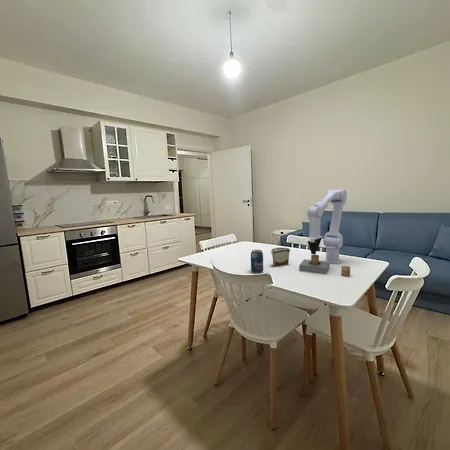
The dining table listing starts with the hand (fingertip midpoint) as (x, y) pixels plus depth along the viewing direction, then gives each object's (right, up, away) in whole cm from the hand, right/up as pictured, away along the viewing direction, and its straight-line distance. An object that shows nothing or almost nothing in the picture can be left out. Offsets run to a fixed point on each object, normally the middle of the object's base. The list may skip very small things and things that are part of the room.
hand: (314, 252), depth 137 cm
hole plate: (0, -10, +1) cm, 10 cm away
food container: (-17, -9, +13) cm, 23 cm away
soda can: (-32, -11, +2) cm, 34 cm away
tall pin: (+1, -10, +1) cm, 10 cm away
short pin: (+12, -11, -10) cm, 19 cm away
